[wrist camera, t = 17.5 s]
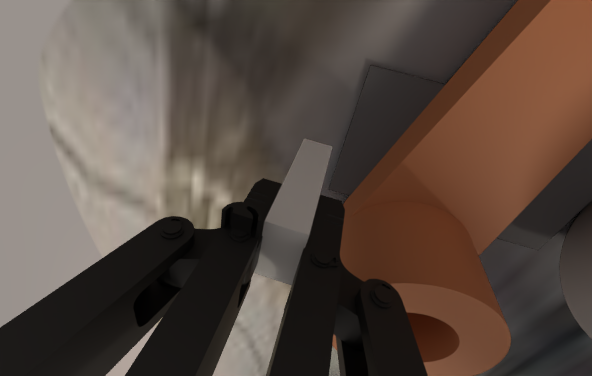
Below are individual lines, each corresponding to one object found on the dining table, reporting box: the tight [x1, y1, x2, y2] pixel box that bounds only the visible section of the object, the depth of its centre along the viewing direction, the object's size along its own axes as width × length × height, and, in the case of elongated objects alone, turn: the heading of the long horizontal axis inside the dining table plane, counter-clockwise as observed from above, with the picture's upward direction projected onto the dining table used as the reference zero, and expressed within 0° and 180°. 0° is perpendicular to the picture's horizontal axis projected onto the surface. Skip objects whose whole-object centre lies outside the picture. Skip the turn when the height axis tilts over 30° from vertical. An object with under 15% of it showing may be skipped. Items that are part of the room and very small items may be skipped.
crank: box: [332, 0, 592, 376], centre depth 13 cm, size 20×8×8 cm
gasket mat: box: [329, 65, 592, 250], centre depth 16 cm, size 14×8×1 cm, turn 79°
